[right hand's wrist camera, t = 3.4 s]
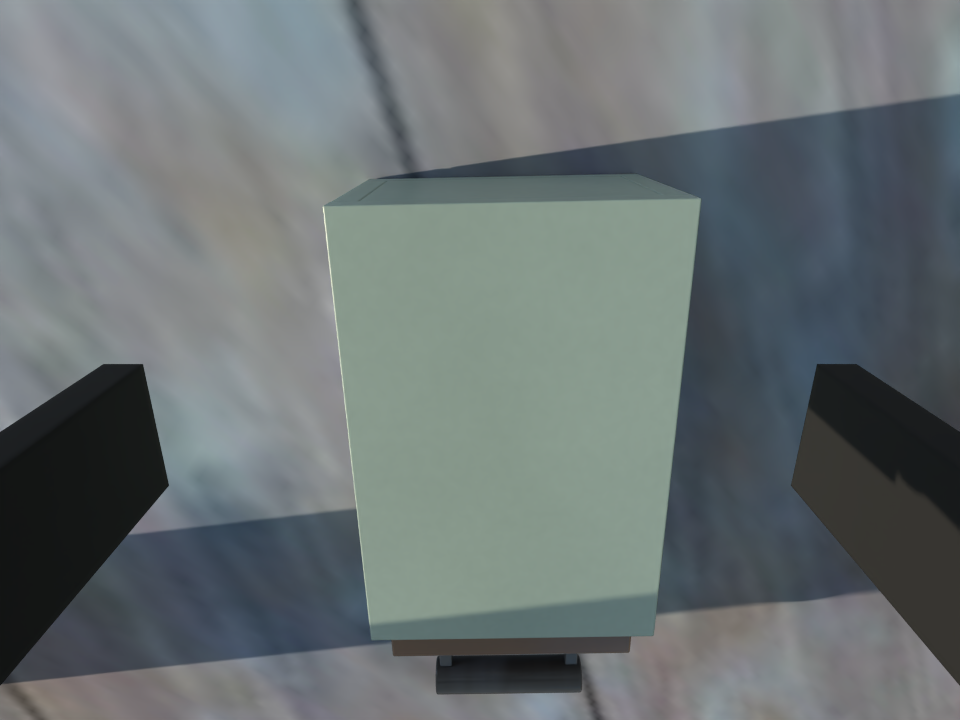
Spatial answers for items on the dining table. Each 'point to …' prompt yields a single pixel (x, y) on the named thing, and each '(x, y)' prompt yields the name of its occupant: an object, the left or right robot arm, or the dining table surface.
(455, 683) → the drawer
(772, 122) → the dining table surface
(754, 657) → the dining table surface
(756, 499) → the dining table surface
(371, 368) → the cabinet
